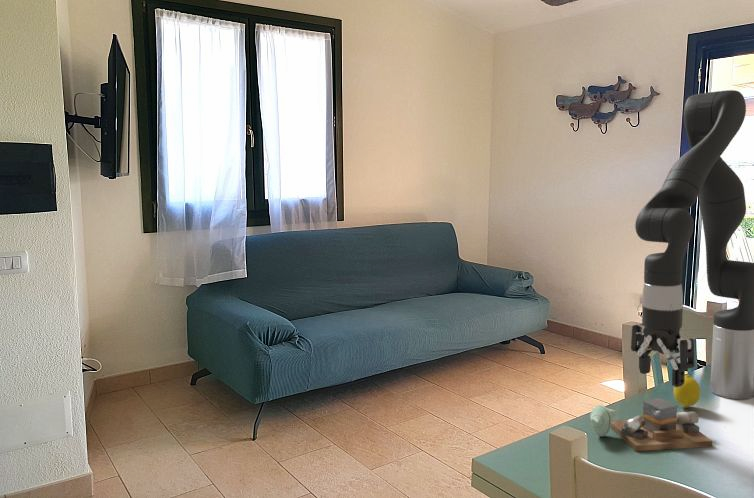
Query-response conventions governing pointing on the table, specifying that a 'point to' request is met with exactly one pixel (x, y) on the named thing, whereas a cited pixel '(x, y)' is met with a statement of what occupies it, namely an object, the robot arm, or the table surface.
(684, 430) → the wooden assembly base
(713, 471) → the table surface
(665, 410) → the grey striped block
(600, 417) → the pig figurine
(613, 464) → the table surface
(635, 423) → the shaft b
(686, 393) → the lemon
